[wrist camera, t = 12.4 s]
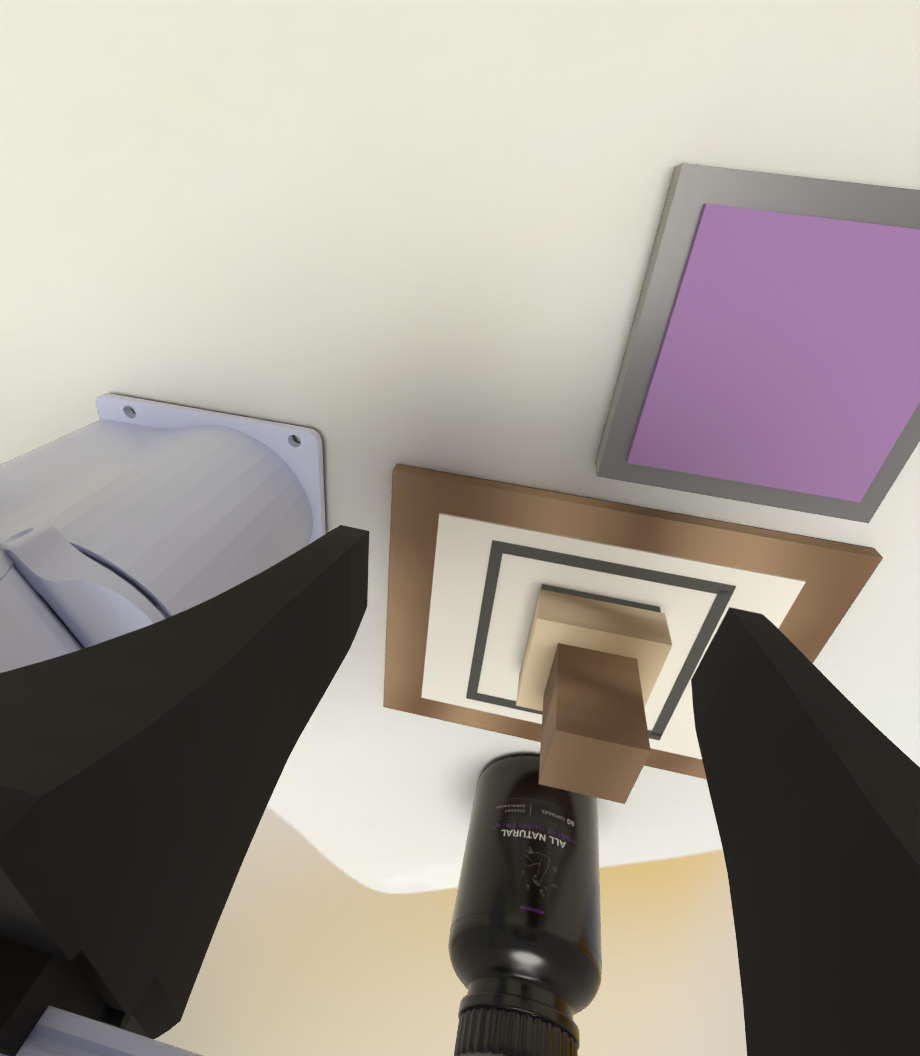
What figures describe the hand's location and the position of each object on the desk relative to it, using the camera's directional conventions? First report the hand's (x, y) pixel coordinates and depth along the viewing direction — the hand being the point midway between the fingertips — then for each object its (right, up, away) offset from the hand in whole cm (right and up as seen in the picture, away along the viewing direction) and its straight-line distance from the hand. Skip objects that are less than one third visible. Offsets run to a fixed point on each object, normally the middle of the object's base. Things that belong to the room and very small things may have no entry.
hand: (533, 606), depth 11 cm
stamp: (+4, -3, +12) cm, 13 cm away
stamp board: (+4, -3, +13) cm, 14 cm away
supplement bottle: (+3, -13, +20) cm, 24 cm away
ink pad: (+8, +7, +6) cm, 12 cm away
